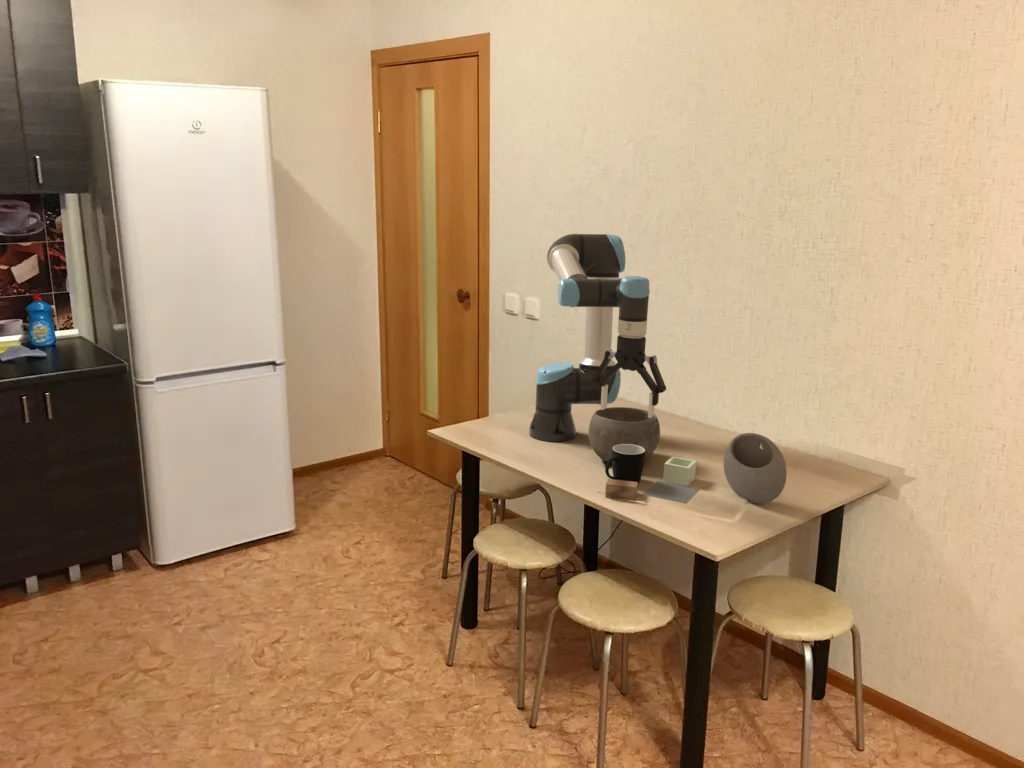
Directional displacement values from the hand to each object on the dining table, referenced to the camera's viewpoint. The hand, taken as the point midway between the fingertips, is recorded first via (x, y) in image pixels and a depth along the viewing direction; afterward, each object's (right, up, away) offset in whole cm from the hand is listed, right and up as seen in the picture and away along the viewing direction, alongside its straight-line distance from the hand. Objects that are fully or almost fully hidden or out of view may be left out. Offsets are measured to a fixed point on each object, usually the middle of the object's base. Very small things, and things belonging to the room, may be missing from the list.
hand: (626, 412), depth 230 cm
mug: (-1, -20, +5) cm, 21 cm away
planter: (+32, -24, -5) cm, 40 cm away
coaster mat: (+12, -22, -1) cm, 25 cm away
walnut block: (-2, -22, -3) cm, 23 cm away
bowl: (+2, -16, +24) cm, 28 cm away
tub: (+16, -20, +8) cm, 26 cm away
